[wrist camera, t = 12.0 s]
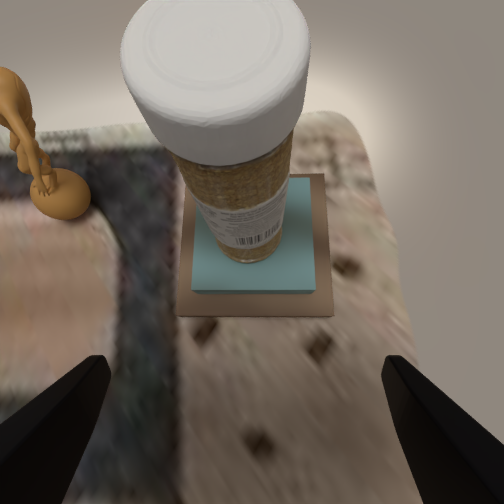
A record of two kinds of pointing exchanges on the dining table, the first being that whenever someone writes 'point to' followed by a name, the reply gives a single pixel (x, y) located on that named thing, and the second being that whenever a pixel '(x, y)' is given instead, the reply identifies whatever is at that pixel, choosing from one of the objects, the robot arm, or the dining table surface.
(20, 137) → the figurine
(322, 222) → the tower base
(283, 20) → the sprinkles bottle
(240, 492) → the dining table surface
